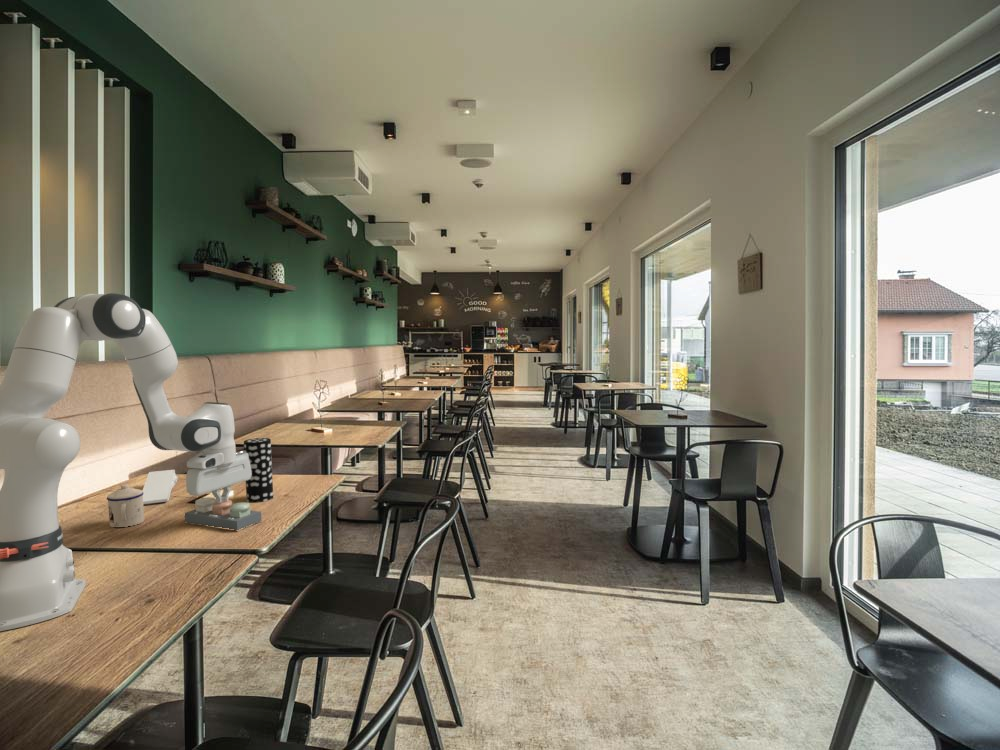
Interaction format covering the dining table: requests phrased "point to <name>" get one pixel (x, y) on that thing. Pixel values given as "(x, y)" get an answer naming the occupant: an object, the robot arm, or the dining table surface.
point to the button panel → (222, 519)
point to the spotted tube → (259, 470)
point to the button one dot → (204, 504)
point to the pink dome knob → (221, 508)
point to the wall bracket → (159, 486)
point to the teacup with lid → (125, 507)
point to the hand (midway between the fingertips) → (222, 502)
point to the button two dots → (239, 510)
